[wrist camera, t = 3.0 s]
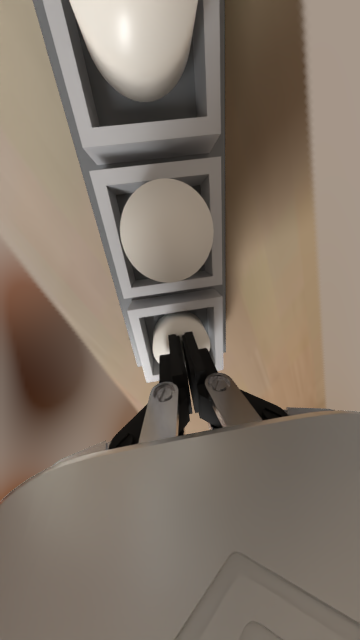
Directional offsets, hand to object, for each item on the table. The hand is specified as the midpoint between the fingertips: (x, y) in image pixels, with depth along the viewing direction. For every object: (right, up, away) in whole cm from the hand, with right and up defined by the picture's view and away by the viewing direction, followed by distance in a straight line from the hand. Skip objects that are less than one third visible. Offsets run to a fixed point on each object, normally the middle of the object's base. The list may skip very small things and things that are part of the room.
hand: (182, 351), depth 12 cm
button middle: (-1, +7, -3) cm, 7 cm away
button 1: (0, +1, +2) cm, 2 cm away
